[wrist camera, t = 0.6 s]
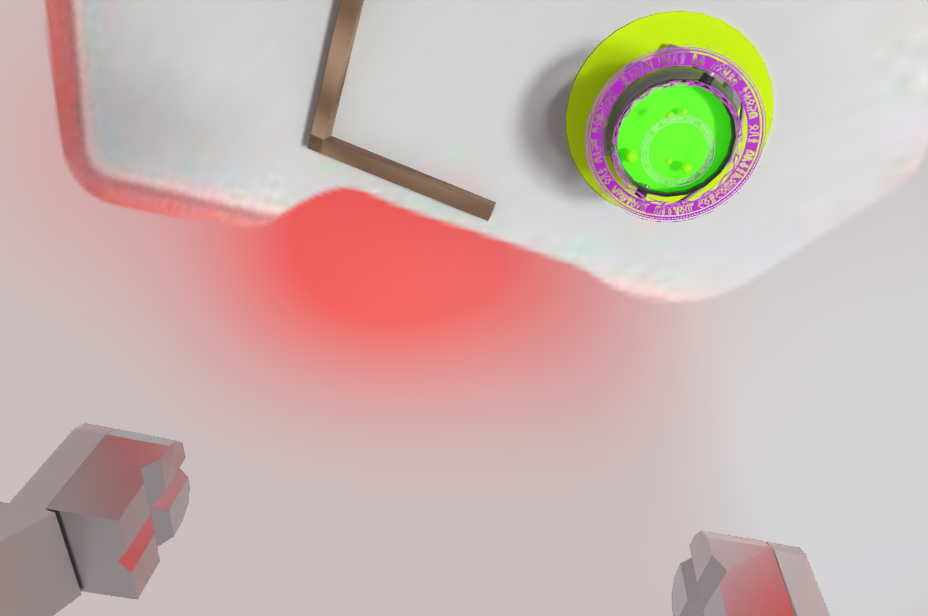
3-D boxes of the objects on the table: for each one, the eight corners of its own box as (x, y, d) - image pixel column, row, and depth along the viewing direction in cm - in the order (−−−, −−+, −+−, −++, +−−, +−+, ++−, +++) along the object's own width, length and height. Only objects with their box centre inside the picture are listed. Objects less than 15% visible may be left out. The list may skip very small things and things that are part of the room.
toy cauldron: (701, 245, 54) (720, 302, 44) (533, 165, 53) (515, 205, 44) (817, 65, 46) (871, 86, 37) (625, -26, 46) (627, -29, 37)
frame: (392, -195, 45) (385, -200, 43) (615, -108, 44) (615, -111, 43) (314, 143, 56) (307, 147, 55) (490, 215, 56) (487, 221, 55)
